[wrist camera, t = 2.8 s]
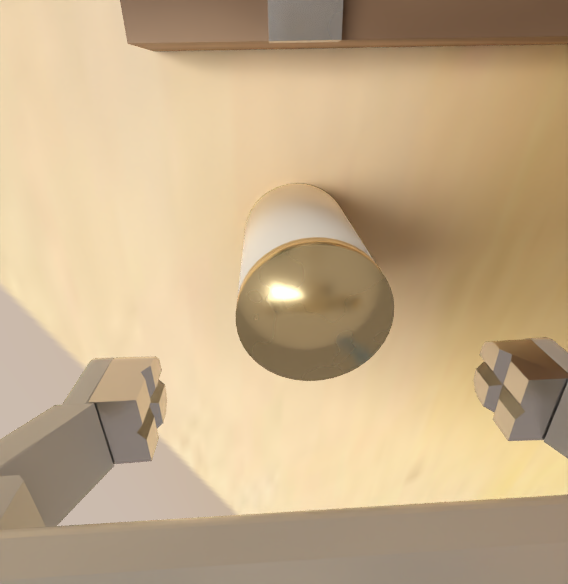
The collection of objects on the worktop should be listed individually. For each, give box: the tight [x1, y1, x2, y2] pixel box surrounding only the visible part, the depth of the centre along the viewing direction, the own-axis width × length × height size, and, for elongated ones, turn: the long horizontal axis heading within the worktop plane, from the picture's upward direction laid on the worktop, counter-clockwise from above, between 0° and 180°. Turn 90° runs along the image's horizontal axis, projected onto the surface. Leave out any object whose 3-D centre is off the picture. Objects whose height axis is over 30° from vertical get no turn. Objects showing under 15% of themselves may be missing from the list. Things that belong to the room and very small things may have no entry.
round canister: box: [236, 183, 394, 381], centre depth 14 cm, size 4×4×7 cm
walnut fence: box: [120, 0, 568, 51], centre depth 12 cm, size 2×26×4 cm, turn 91°
